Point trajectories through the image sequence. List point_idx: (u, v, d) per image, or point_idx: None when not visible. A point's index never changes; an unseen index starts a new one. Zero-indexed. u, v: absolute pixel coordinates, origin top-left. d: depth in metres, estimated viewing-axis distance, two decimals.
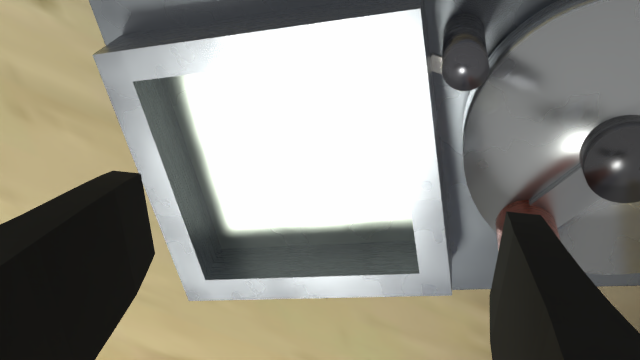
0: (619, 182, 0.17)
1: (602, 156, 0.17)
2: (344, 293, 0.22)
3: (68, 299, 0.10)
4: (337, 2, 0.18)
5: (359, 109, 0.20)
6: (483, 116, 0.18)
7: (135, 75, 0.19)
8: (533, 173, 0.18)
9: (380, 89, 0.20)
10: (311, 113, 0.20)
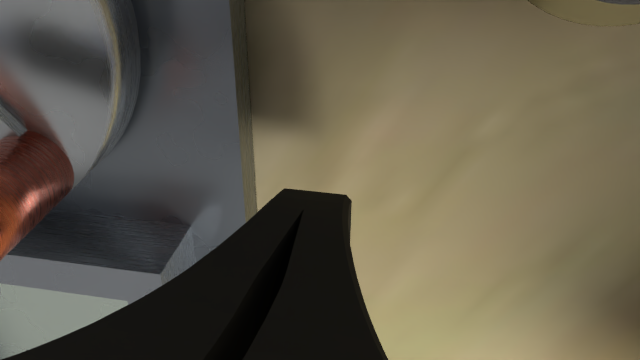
0: None
1: None
2: None
3: None
4: None
5: None
6: None
7: None
8: None
9: None
10: (7, 311, 0.19)
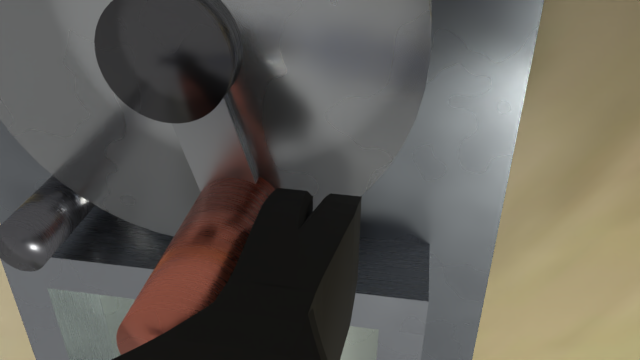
0: (183, 85, 0.10)
1: (129, 85, 0.11)
2: None
3: (327, 336, 0.09)
4: None
5: None
6: (59, 164, 0.13)
7: None
8: (165, 158, 0.12)
9: None
10: None
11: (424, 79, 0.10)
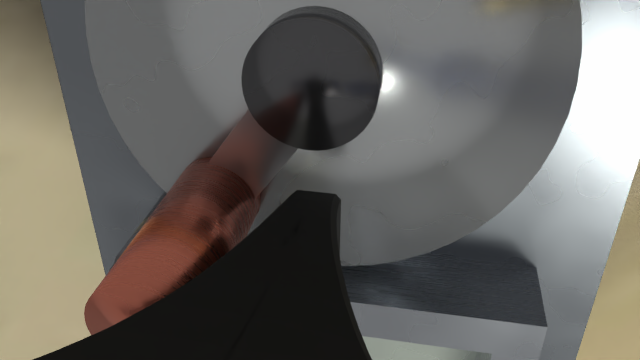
0: (300, 116, 0.11)
1: (262, 74, 0.10)
2: None
3: None
4: None
5: None
6: (103, 26, 0.11)
7: None
8: (203, 114, 0.12)
9: None
10: None
11: (434, 249, 0.13)
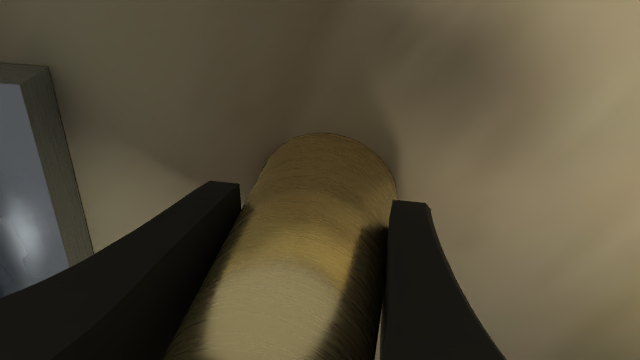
0: None
1: None
2: None
3: (183, 315, 0.10)
4: None
5: None
6: None
7: None
8: None
9: None
10: None
11: None
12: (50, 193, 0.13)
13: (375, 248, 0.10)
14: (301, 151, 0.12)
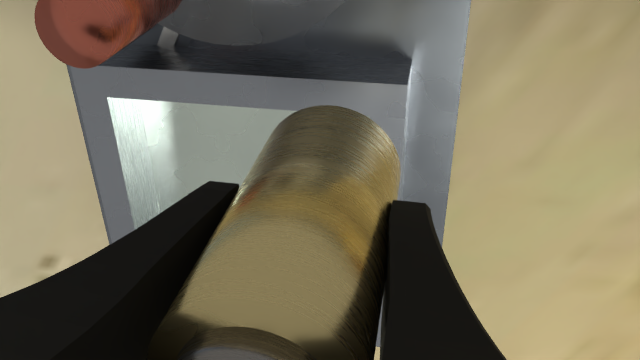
0: None
1: None
2: None
3: None
4: None
5: (215, 120, 0.20)
6: None
7: None
8: None
9: None
10: (216, 162, 0.21)
11: (316, 21, 0.16)
12: None
13: (386, 227, 0.10)
14: (321, 120, 0.12)
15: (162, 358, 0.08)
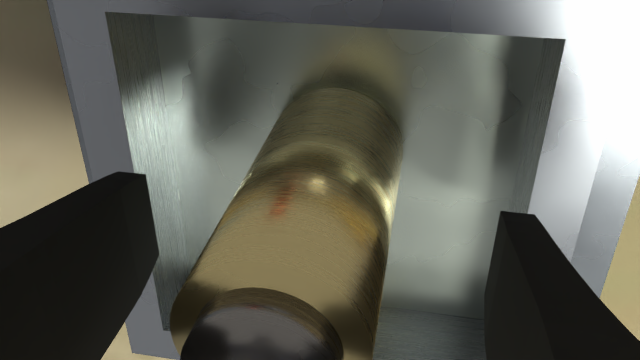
0: None
1: None
2: (579, 189, 0.11)
3: (74, 300, 0.10)
4: None
5: (274, 62, 0.13)
6: None
7: (155, 324, 0.15)
8: None
9: (243, 22, 0.13)
10: None
11: None
12: None
13: (390, 204, 0.11)
14: (330, 102, 0.12)
15: (184, 316, 0.09)
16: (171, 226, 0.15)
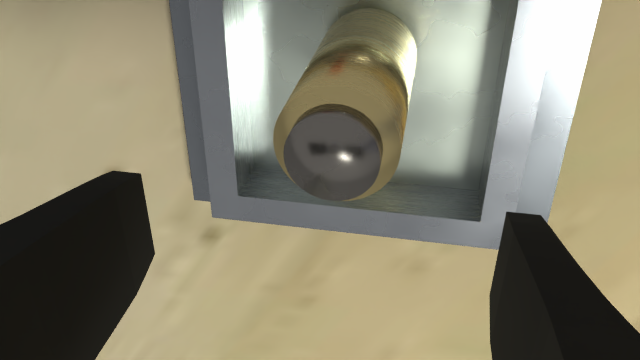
0: None
1: None
2: (538, 67, 0.16)
3: (68, 299, 0.10)
4: None
5: None
6: None
7: (232, 191, 0.20)
8: None
9: None
10: None
11: None
12: None
13: (409, 78, 0.16)
14: (365, 15, 0.18)
15: (283, 129, 0.14)
16: (244, 118, 0.20)
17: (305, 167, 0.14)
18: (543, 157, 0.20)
